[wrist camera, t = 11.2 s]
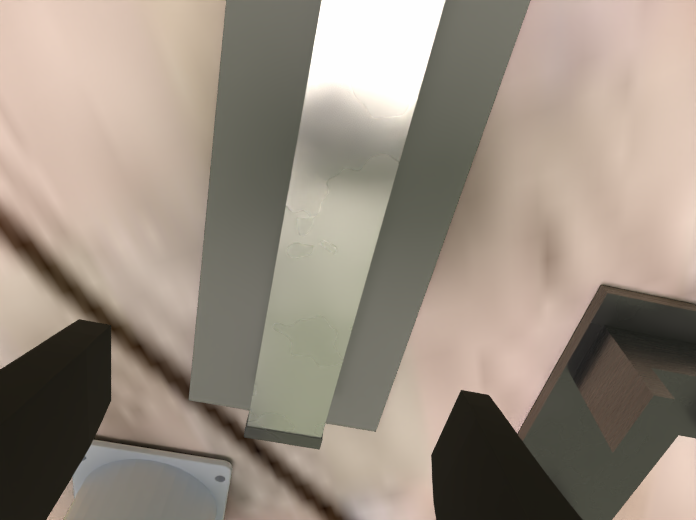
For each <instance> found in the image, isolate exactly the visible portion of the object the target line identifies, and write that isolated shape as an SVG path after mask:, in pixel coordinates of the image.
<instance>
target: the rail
mask: <svg viewBox="0 0 696 520" xmlns="http://www.w3.org/2000/svg"><path fill="white" fill-rule="evenodd" d="M444 3H445V0H322V3H321V9H320V14H319V20H318V26H317V32H316V37H315V43H314V49H313V54H312V60H311V66H310V71H309V77H308V83H307V88H306V94H305V100H304V105H303V111H302V117H301V122H300V128H299V134H298V139H297V145H296V151H295V157H294V162H293V168H292V174H291V179H290V185H289V191H288V196H287V202H286V208H285V213H284V219H283V225H282V230H281V236H280V242H279V247H278V253H277V259H276V265H275V270H274V276H273V282H272V287H271V293H270V299H269V304H268V310H267V316H266V321H265V327H264V333H263V338H262V344H261V350H260V355H259V361H258V367H257V373H256V378H255V384H254V390H253V395H252V401H251V407H250V411H249V415H248V419H247V423H246V427H245V433H244V437H246V438H252V439H258V440H265V441H271V442H277V443H283V444H289V445H295V446H301V447H307V448H314V449H320V446H321V442H322V436H323V430H324V426H325V423H326V419H327V416H328V412H329V409H330V405H331V402H332V398H333V395H334V391H335V388H336V384H337V381H338V377H339V373H340V370H341V366H342V363H343V359H344V356H345V352H346V349H347V345H348V342H349V338H350V335H351V331H352V328H353V324H354V321H355V317H356V314H357V310H358V306H359V303H360V299H361V296H362V292H363V289H364V285H365V282H366V278H367V275H368V271H369V268H370V264H371V261H372V257H373V254H374V250H375V246H376V243H377V239H378V236H379V232H380V229H381V225H382V222H383V218H384V215H385V211H386V208H387V204H388V201H389V197H390V194H391V190H392V187H393V183H394V179H395V176H396V172H397V169H398V165H399V162H400V158H401V155H402V151H403V148H404V144H405V141H406V137H407V134H408V130H409V127H410V123H411V119H412V116H413V112H414V109H415V105H416V102H417V98H418V95H419V91H420V88H421V84H422V81H423V77H424V74H425V70H426V67H427V63H428V59H429V56H430V52H431V49H432V45H433V42H434V38H435V35H436V31H437V28H438V24H439V21H440V17H441V14H442V10H443V7H444Z"/></svg>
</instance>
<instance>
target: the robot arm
mask: <svg viewBox="0 0 696 520" xmlns="http://www.w3.org/2000/svg"><path fill="white" fill-rule="evenodd" d="M110 402H111V325H107V324H102V323H96V322H91V321H85V320H80V319H79V320H77V321H76V322H74V323H73V324H71V325H69V326H68V327H66V328H64V329H63V330H61V331H60V332H58V333H57V334H55V335H53V336H52V337H50V338H49V339H47V340H46V341H44V342H43V343H41V344H40V345H38V346H36V347H35V348H33V349H32V350H30V351H29V352H27V353H26V354H24V355H22V356H21V357H19V358H18V359H16V360H15V361H13V362H11V363H10V364H8V365H7V366H5V367H3V368H2V369H0V520H46V519H47V517H48V516H49V514H50V512H51V511H52V509H53V508H54V506H55V504H56V503H57V501H58V499H59V498H60V496H61V494H62V493H63V491H64V490H65V488H66V486H67V485H68V483H69V481H70V480H71V478H72V476H73V490H74V501H73V503H72V504H71V506H70V508H69V510H68V512H67V514H66V516H65V517H64V519H63V520H224V515H225V509H226V503H227V497H228V491H229V485H230V479H231V473H232V465H231V464H230V463H229V462H228V461H225V460H219V459H213V458H207V457H200V456H194V455H188V454H182V453H175V452H169V451H163V450H156V449H150V448H144V447H138V446H131V445H125V444H119V443H112V442H106V441H100V440H94V437H95V435H96V433H97V431H98V429H99V427H100V424H101V422H102V420H103V418H104V415H105V413H106V411H107V409H108V406H109V404H110ZM431 457H432V483H433V499H434V508H435V514H436V520H583V519H582V518H581V517H580V516H579V514H578V513H577V512H576V511H575V510H574V508H573V507H572V506H571V505H570V503H569V502H568V501H567V500H566V498H565V497H564V496H563V495H562V493H561V492H560V491H559V489H558V488H557V487H556V486H555V484H554V483H553V482H552V480H551V479H550V478H549V476H548V475H547V474H546V472H545V471H544V470H543V468H542V467H541V466H540V464H539V463H538V462H537V460H536V459H535V458H534V456H533V455H532V454H531V452H530V451H529V449H528V448H527V447H526V445H525V444H524V443H523V441H522V440H521V438H520V437H519V436H518V434H517V433H516V432H515V430H514V429H513V427H512V426H511V425H510V423H509V422H508V420H507V419H506V418H505V416H504V415H503V413H502V412H501V411H500V409H499V408H498V407H497V405H496V404H495V403H494V401H493V400H492V399H491V397H490V396H489V395H485V394H480V393H475V392H469V391H464V390H461V392H460V394H459V396H458V398H457V400H456V402H455V405H454V407H453V409H452V411H451V413H450V415H449V418H448V420H447V422H446V424H445V426H444V429H443V431H442V433H441V435H440V437H439V439H438V442H437V444H436V446H435V448H434V450H433V453H432V455H431Z"/></svg>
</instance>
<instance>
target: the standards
mask: <svg viewBox="0 0 696 520" xmlns="http://www.w3.org/2000/svg"><path fill="white" fill-rule="evenodd" d="M678 435H680V436H686V437H692V438H696V305H695V304H690V303H685V302H681V301H676V300H671V299H666V298H661V297H657V296H652V295H647V294H642V293H637V292H632V291H628V290H623V289H618V288H613V287H608V286H604V285H601V286H600V288H599V290H598V292H597V293H596V295H595V297H594V299H593V301H592V302H591V304H590V306H589V308H588V309H587V311H586V313H585V315H584V317H583V318H582V320H581V322H580V324H579V326H578V327H577V329H576V331H575V333H574V335H573V336H572V338H571V340H570V342H569V343H568V345H567V347H566V349H565V351H564V352H563V354H562V356H561V358H560V360H559V361H558V363H557V365H556V367H555V368H554V370H553V372H552V374H551V376H550V377H549V379H548V381H547V383H546V385H545V386H544V388H543V390H542V392H541V393H540V395H539V397H538V399H537V401H536V402H535V404H534V406H533V408H532V410H531V411H530V413H529V415H528V417H527V419H526V420H525V422H524V424H523V426H522V427H521V429H520V431H519V433H518V436H519V437H520V438H521V440H522V441H523V443H524V444H525V445H526V447H527V448H528V449H529V451H530V452H531V454H532V455H533V456H534V458H535V459H536V460H537V462H538V463H539V464H540V466H541V467H542V468H543V470H544V471H545V472H546V474H547V475H548V476H549V478H550V479H551V480H552V482H553V483H554V484H555V486H556V487H557V488H558V489H559V491H560V492H561V493H562V495H563V496H564V497H565V498H566V500H567V501H568V502H569V503H570V505H571V506H572V507H573V508H574V510H575V511H576V512H577V513H578V514H579V516H580V517H581V518H582V519H583V520H612V519H613V518H614V517H615V515H616V514H617V513H618V512H619V510H620V509H621V508H622V506H623V505H624V504H625V503H626V501H627V500H628V499H629V498H630V496H631V495H632V494H633V492H634V491H635V490H636V489H637V487H638V486H639V485H640V484H641V482H642V481H643V480H644V478H645V477H646V476H647V475H648V473H649V472H650V471H651V470H652V468H653V467H654V466H655V464H656V463H657V462H658V461H659V459H660V458H661V457H662V456H663V454H664V453H665V452H666V450H667V449H668V448H669V447H670V445H671V444H672V443H673V442H674V440H675V439H676V438H677V436H678Z"/></svg>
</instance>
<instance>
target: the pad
mask: <svg viewBox="0 0 696 520" xmlns="http://www.w3.org/2000/svg"><path fill="white" fill-rule="evenodd" d="M321 3H322V0H226V8H225V19H224V30H223V40H222V51H221V62H220V72H219V83H218V94H217V104H216V115H215V126H214V136H213V147H212V158H211V168H210V179H209V190H208V200H207V211H206V222H205V232H204V243H203V254H202V264H201V275H200V286H199V296H198V307H197V318H196V328H195V339H194V350H193V360H192V371H191V382H190V392H189V400H191V401H197V402H203V403H209V404H215V405H221V406H227V407H233V408H238V409H244V410H250V407H251V401H252V395H253V390H254V384H255V378H256V373H257V367H258V361H259V355H260V350H261V344H262V338H263V333H264V327H265V321H266V316H267V310H268V304H269V299H270V293H271V287H272V282H273V276H274V270H275V265H276V259H277V253H278V247H279V242H280V236H281V230H282V225H283V219H284V213H285V208H286V202H287V196H288V191H289V185H290V179H291V174H292V168H293V162H294V157H295V151H296V145H297V139H298V134H299V128H300V122H301V117H302V111H303V105H304V100H305V94H306V88H307V83H308V77H309V71H310V66H311V60H312V54H313V49H314V43H315V37H316V32H317V26H318V20H319V14H320V9H321ZM529 3H530V0H445V3H444V7H443V10H442V14H441V17H440V21H439V24H438V28H437V31H436V35H435V38H434V42H433V45H432V49H431V52H430V56H429V59H428V63H427V67H426V70H425V74H424V77H423V81H422V84H421V88H420V91H419V95H418V98H417V102H416V105H415V109H414V112H413V116H412V119H411V123H410V127H409V130H408V134H407V137H406V141H405V144H404V148H403V151H402V155H401V158H400V162H399V165H398V169H397V172H396V176H395V179H394V183H393V187H392V190H391V194H390V197H389V201H388V204H387V208H386V211H385V215H384V218H383V222H382V225H381V229H380V232H379V236H378V239H377V243H376V246H375V250H374V254H373V257H372V261H371V264H370V268H369V271H368V275H367V278H366V282H365V285H364V289H363V292H362V296H361V299H360V303H359V306H358V310H357V314H356V317H355V321H354V324H353V328H352V331H351V335H350V338H349V342H348V345H347V349H346V352H345V356H344V359H343V363H342V366H341V370H340V373H339V377H338V381H337V384H336V388H335V391H334V395H333V398H332V402H331V405H330V409H329V412H328V416H327V419H326V423H327V424H333V425H339V426H345V427H351V428H356V429H362V430H368V431H374V432H376V429H377V426H378V424H379V421H380V418H381V415H382V413H383V410H384V407H385V404H386V401H387V399H388V396H389V393H390V390H391V387H392V385H393V382H394V379H395V376H396V374H397V371H398V368H399V365H400V362H401V360H402V357H403V354H404V351H405V348H406V346H407V343H408V340H409V337H410V335H411V332H412V329H413V326H414V323H415V321H416V318H417V315H418V312H419V309H420V307H421V304H422V301H423V298H424V296H425V293H426V290H427V287H428V284H429V282H430V279H431V276H432V273H433V270H434V268H435V265H436V262H437V259H438V257H439V254H440V251H441V248H442V245H443V243H444V240H445V237H446V234H447V231H448V229H449V226H450V223H451V220H452V218H453V215H454V212H455V209H456V206H457V204H458V201H459V198H460V195H461V193H462V190H463V187H464V184H465V181H466V179H467V176H468V173H469V170H470V167H471V165H472V162H473V159H474V156H475V154H476V151H477V148H478V145H479V142H480V140H481V137H482V134H483V131H484V128H485V126H486V123H487V120H488V117H489V115H490V112H491V109H492V106H493V103H494V101H495V98H496V95H497V92H498V89H499V87H500V84H501V81H502V78H503V76H504V73H505V70H506V67H507V64H508V62H509V59H510V56H511V53H512V50H513V48H514V45H515V42H516V39H517V37H518V34H519V31H520V28H521V25H522V23H523V20H524V17H525V14H526V11H527V9H528V6H529Z"/></svg>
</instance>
